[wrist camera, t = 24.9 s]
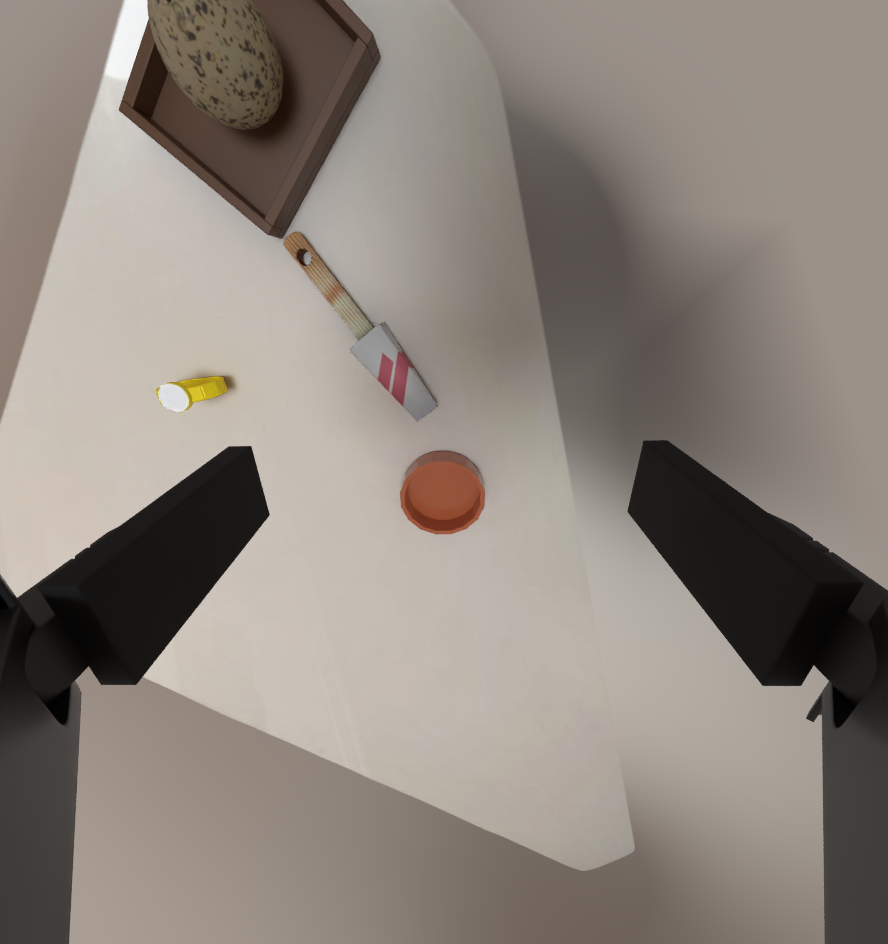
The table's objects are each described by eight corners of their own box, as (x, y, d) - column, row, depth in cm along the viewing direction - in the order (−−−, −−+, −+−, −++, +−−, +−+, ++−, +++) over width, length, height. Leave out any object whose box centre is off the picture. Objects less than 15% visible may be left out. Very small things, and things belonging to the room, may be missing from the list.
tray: (230, -106, 26) (204, -152, 23) (380, 56, 29) (373, 33, 26) (146, 125, 31) (118, 109, 28) (281, 239, 35) (267, 235, 32)
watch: (186, 399, 41) (148, 415, 36) (176, 373, 40) (134, 387, 35) (239, 393, 41) (207, 409, 36) (230, 367, 40) (196, 380, 35)
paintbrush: (411, 428, 39) (270, 250, 33) (414, 421, 42) (283, 253, 36) (441, 407, 38) (301, 219, 32) (442, 400, 41) (312, 224, 34)
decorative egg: (240, -9, 27) (136, -154, 18) (318, 89, 29) (260, 4, 20) (188, 83, 29) (72, -5, 20) (264, 168, 32) (190, 122, 23)
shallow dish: (483, 450, 44) (485, 461, 41) (481, 519, 48) (483, 533, 45) (400, 451, 44) (397, 462, 41) (406, 520, 48) (403, 534, 45)
